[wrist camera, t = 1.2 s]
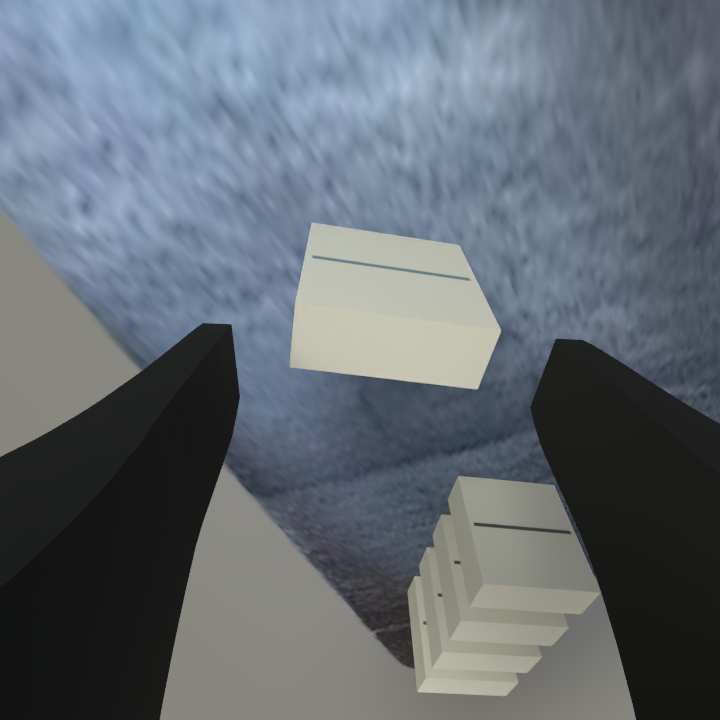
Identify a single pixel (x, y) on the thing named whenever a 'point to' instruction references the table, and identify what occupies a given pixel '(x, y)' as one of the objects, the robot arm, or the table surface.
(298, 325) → the domino
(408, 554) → the table surface
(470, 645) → the domino
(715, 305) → the table surface
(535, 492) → the domino
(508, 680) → the domino
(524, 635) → the domino
